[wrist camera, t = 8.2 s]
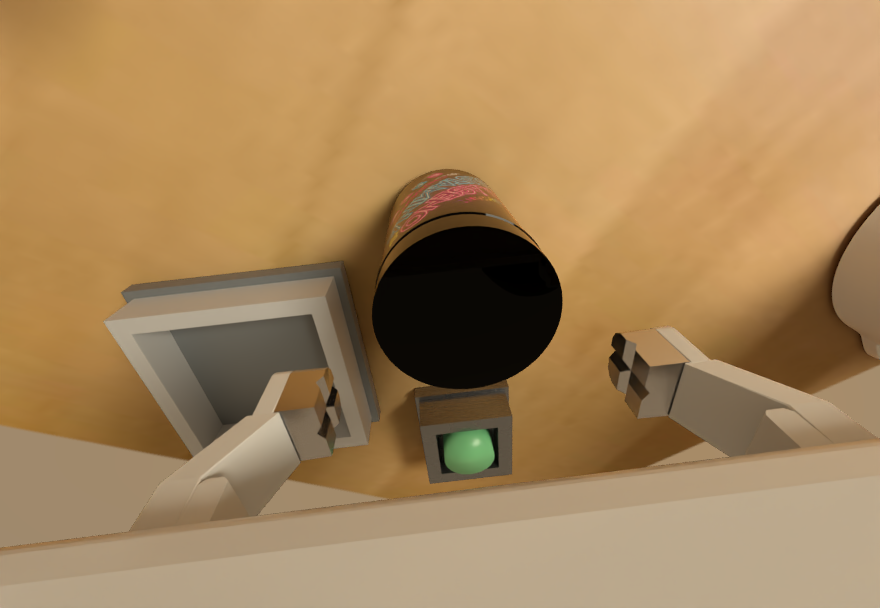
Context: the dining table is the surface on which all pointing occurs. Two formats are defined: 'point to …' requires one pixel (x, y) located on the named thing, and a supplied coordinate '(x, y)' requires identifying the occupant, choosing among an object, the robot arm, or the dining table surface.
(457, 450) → the button
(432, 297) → the supplement container
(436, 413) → the button housing
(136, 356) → the square shallow tray
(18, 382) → the dining table surface
